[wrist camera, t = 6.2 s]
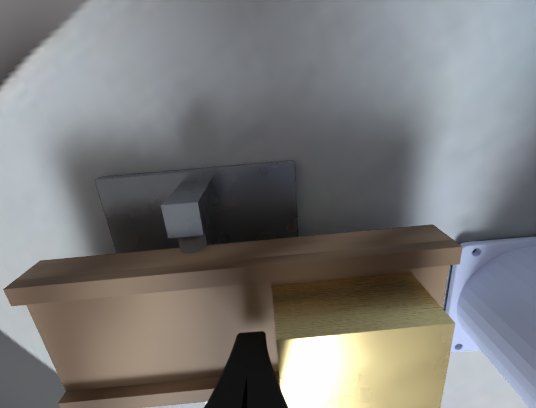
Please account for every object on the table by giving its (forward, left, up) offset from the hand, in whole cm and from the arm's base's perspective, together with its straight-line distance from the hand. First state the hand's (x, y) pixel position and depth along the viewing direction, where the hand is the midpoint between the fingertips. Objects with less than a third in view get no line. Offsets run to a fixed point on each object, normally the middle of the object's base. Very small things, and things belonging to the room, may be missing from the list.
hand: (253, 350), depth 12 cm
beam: (+1, 0, -3) cm, 3 cm away
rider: (-4, 0, -1) cm, 4 cm away
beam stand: (+2, 0, -6) cm, 6 cm away
